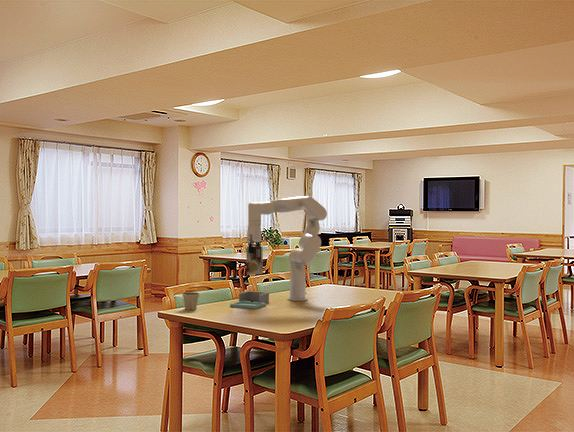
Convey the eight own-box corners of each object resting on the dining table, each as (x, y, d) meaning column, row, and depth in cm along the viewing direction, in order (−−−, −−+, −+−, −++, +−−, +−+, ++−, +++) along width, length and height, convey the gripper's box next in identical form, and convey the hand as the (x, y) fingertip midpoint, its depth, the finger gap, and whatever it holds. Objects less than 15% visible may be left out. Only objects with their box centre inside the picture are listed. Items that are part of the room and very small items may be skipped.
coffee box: (263, 273, 334) (263, 246, 333) (261, 274, 327) (261, 246, 327) (247, 273, 334) (247, 246, 334) (246, 274, 328) (246, 246, 328)
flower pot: (195, 310, 301) (195, 294, 301) (179, 310, 303) (179, 294, 303) (201, 308, 310) (202, 292, 310) (185, 307, 312) (186, 291, 312)
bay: (248, 300, 339) (248, 291, 339) (268, 302, 333) (268, 292, 333) (238, 303, 329) (238, 293, 329) (259, 305, 323) (260, 294, 323)
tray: (241, 303, 327) (241, 300, 328) (265, 306, 321) (265, 302, 321) (230, 306, 316) (230, 303, 316) (255, 309, 309) (255, 306, 309)
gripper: (255, 222, 340) (255, 251, 340) (241, 223, 324) (241, 253, 324) (266, 222, 337) (266, 252, 337) (253, 223, 321) (253, 254, 321)
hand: (254, 252), depth 331 cm, fingers closed on coffee box, 7 cm apart
